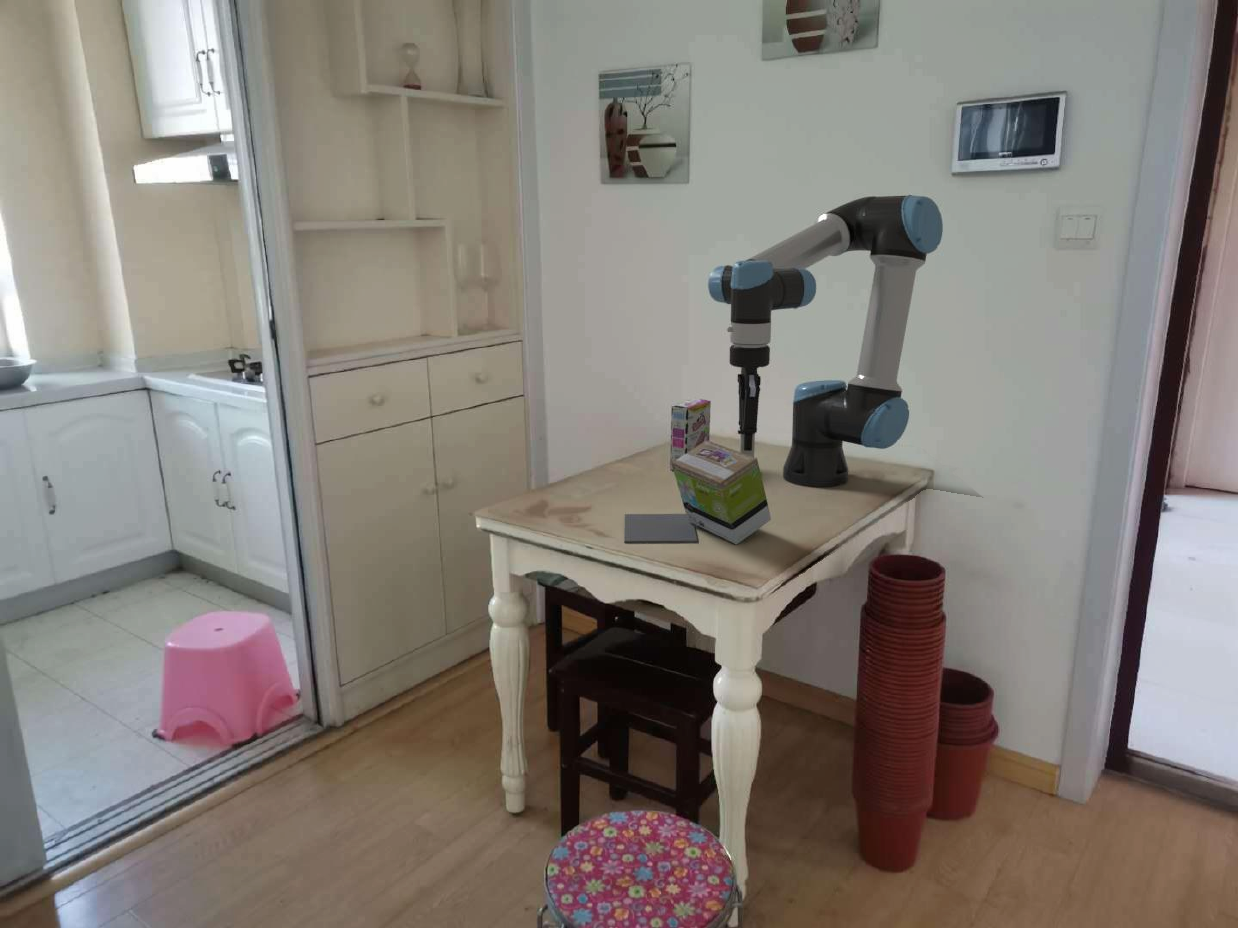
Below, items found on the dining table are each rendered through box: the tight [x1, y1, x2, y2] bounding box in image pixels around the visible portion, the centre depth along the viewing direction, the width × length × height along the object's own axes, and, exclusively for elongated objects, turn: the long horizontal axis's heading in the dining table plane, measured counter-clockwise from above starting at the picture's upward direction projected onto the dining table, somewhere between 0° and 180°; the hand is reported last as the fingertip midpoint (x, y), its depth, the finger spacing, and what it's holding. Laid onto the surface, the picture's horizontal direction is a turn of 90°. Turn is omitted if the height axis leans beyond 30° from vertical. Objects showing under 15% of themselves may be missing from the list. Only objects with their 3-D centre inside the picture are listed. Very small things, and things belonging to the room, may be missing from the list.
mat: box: [623, 513, 698, 544], centre depth 183 cm, size 14×16×1 cm
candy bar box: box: [669, 398, 712, 472], centre depth 224 cm, size 11×5×16 cm, turn 144°
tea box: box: [671, 440, 772, 545], centre depth 178 cm, size 15×10×15 cm, turn 35°
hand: (746, 464), depth 178 cm, fingers closed
